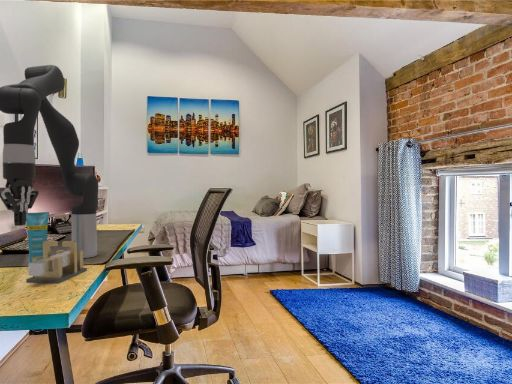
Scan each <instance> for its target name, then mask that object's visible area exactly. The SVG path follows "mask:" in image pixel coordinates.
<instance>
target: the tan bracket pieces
mask: <svg viewBox="0 0 512 384" xmlns="http://www.w3.org/2000/svg"><path fill="white" fill-rule="evenodd" d="M62 252H65V249H59V250H56V254H59V253H62ZM56 254H55V255H56ZM40 259H41V257H35V258H32V262H34V261H37V260H40ZM82 268H84V258H83V250H78V251H77V269H82ZM62 269H70V265H68V266H65V267H62V257H57V258H54V271H52V272H49V273H47V274H44V275H42V276H32V277H33V278H54V279H59V278H61V277H62Z"/></svg>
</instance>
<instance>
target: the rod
mask: <svg viewBox="0 0 512 384" xmlns="http://www.w3.org/2000/svg"><path fill="white" fill-rule="evenodd" d="M57 257H62V267H65V266H68V265H70V250H64V252H62V253H59V254H53V255H50V257H47V258H44V259H40V260H37V261H34V262H31V263H30V262H29V263H28V267H27V268H28V276H29V277H33V276H42V275H44V274H47V273H49V272H52V271H54V258H57Z"/></svg>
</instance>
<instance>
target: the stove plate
mask: <svg viewBox="0 0 512 384" xmlns="http://www.w3.org/2000/svg"><path fill="white" fill-rule="evenodd" d="M87 269H88V268H87V267H83V268H82V269H77V272H76V273H70V269H62V277H61V278H59V279H54V278H33V276H30V277H29V278H27V279H25V280H26V284H27V283H29V284H31V283H34V284H37V283H38V284H39V283H40V284H59V283H62V282H64V281H67V280H69V279H71V278H73V277H75V276H76V277H77V276H78V275H80V274H82V273H84V272H86V271H87Z"/></svg>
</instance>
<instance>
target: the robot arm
mask: <svg viewBox="0 0 512 384" xmlns="http://www.w3.org/2000/svg"><path fill="white" fill-rule="evenodd" d="M24 78H25V79H23V80H21V82H19V83H13V84H7V85H3V86H0V112H1V113H3V114H8V115H22V118H20V119H19V120H16V121H12V122H7V123H5V124H4V125H3V128H2V131H3V132H2V134H3V137H2V138H3V147H2V178H3V180H6V183H5V188H4V190H3V191H0V200H1V201H2V203H3V204H4V207H5V208H6V209H7V211H11V212H13V223H14V226H15V227H22V226H25V225H26V226H27V222H26V213H27V212H28V210H30V209H32V208H33V206H34V203H35V202H36V200H37V198H38V197H39V191H38V190H35V188H33V187H34V185H33V182H32V180H35V179H36V152H35V136H34V135H35V127H36V122H37V119H38V116H39V113H40V115H41V118H42V121H43V124H44V126H45V130H46V132H47V135H48V138H49V141H50V144H51V145H52V148H53V150H54V153H55V155H56V158H57V160H58V164H59V167H60V170H61V174H62V178H63V182H64V185H65V189H66V190H67V192H68V194H69V196H71V197H75V198H76V197H77V198H78V197H79V198H82V201H81V202H80V203H79V204H76V205H73V206H72V207H71V209H70V211H71V212H70V213H71V217H70V218H71V224H70V225H71V241H77V251H78V250H83V259H86V258H87V259H88V258H94V257H97V255H98V229H97V225H98V224H97V223H98V222H97V209H98V203H99V201H98V200H99V179H98V177H97V176H96V175H95V174H93V173H78V171H77V168H76V164H75V163H76V162H75V161H76V160H75V159H76V157H77V153H78V150H79V147H80V140H79V137H78V134H77V131H76V128H75V126H74V124H73V123H72V122H71V121H70V120H69V119H68V118H66V116H64V115H63V114H62V113H61V112H59V111H58V110H57V109H56V108H55V107H54V106H53V104H51V101H50V100H49V99H48V98H47V97H48V96H50V95H52V94H56V93H60V92H62V91H63V90H64V88H65V85H66V83H65V77H64V74H63V72H62V70H61V69H60V67H59V66H56V65H53V64H47V65H38V66H30V67H26V68H25V70H24Z"/></svg>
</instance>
